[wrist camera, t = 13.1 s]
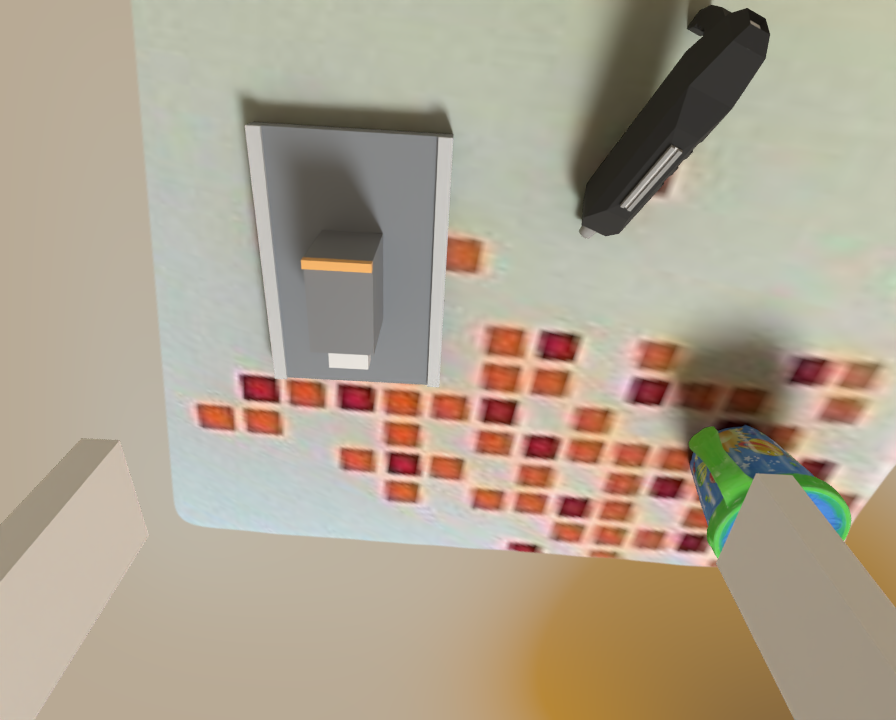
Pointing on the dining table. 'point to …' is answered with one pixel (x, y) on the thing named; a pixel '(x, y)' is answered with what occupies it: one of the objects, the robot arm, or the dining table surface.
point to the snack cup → (750, 478)
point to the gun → (676, 116)
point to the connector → (344, 296)
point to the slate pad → (354, 210)
